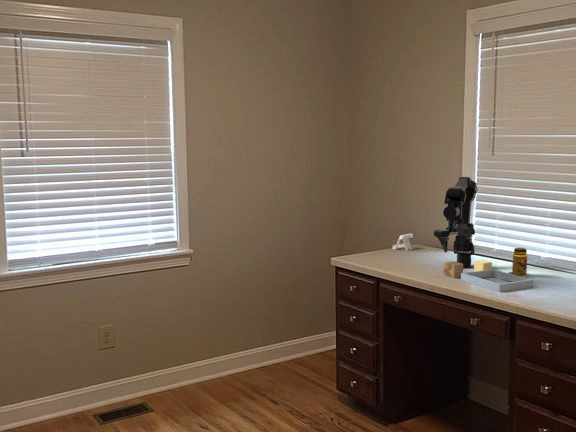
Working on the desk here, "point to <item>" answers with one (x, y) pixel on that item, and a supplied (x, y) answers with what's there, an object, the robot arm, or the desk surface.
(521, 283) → the gray tray
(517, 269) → the condiment
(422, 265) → the desk surface
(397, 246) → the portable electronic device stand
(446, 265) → the walnut block
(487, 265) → the mustard box
